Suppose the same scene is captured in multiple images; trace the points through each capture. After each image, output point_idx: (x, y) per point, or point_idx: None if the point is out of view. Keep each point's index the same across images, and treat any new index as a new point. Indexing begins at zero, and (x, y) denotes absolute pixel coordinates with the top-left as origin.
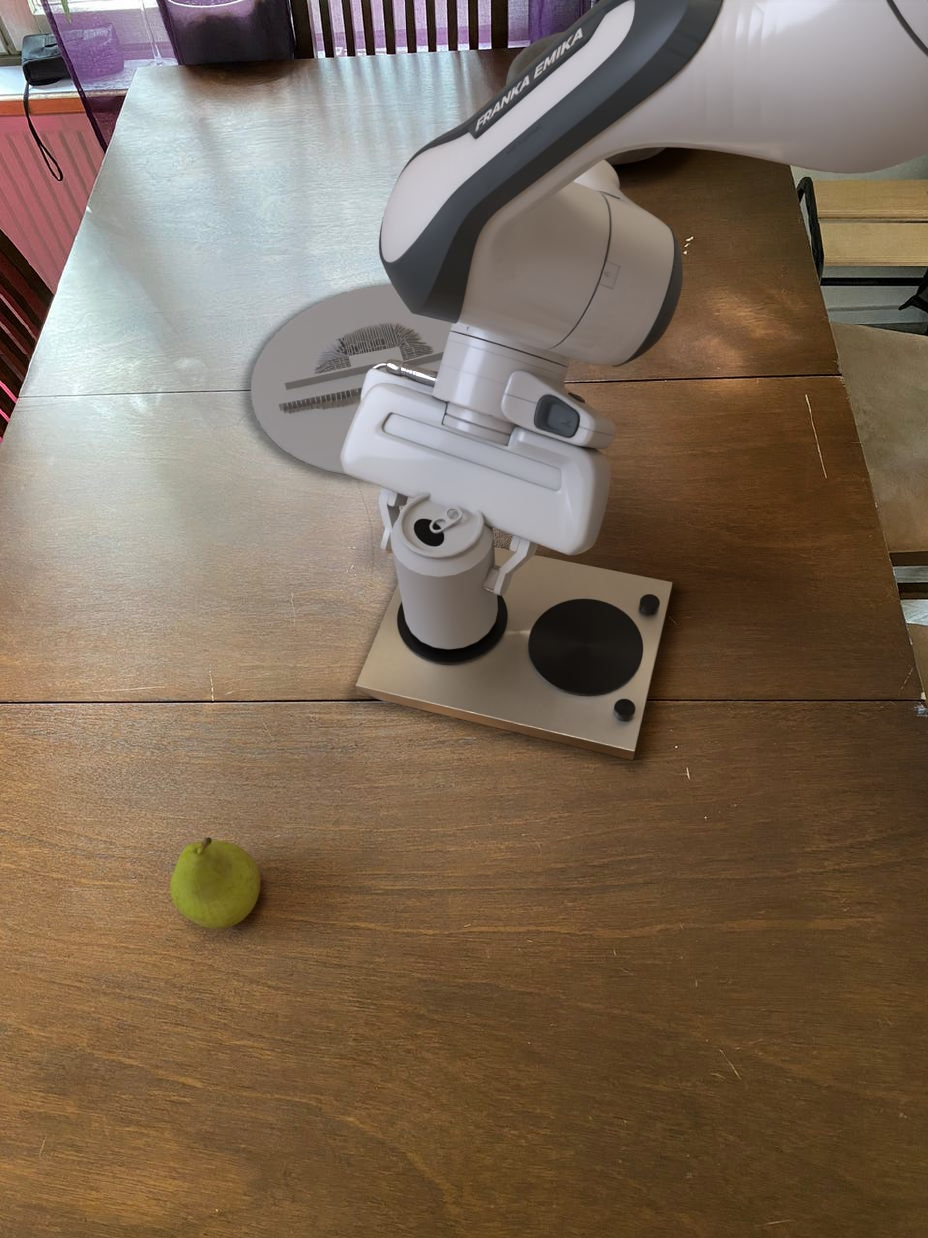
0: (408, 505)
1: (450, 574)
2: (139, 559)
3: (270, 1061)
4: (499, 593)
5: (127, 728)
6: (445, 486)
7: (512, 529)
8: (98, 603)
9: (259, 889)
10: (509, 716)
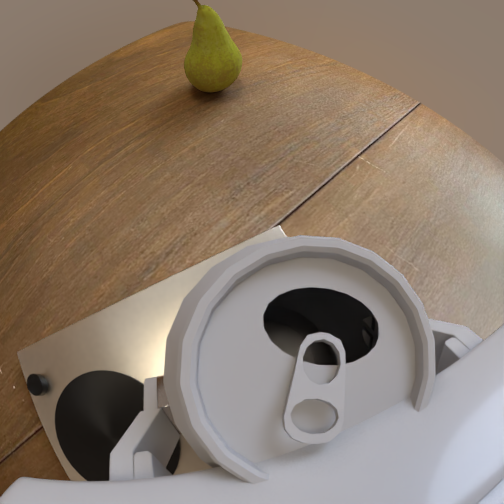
0: (427, 334)
1: (192, 289)
2: (490, 209)
3: (133, 73)
4: (146, 379)
5: (371, 116)
6: (404, 455)
7: (141, 487)
8: (468, 169)
9: (190, 80)
10: (116, 308)
